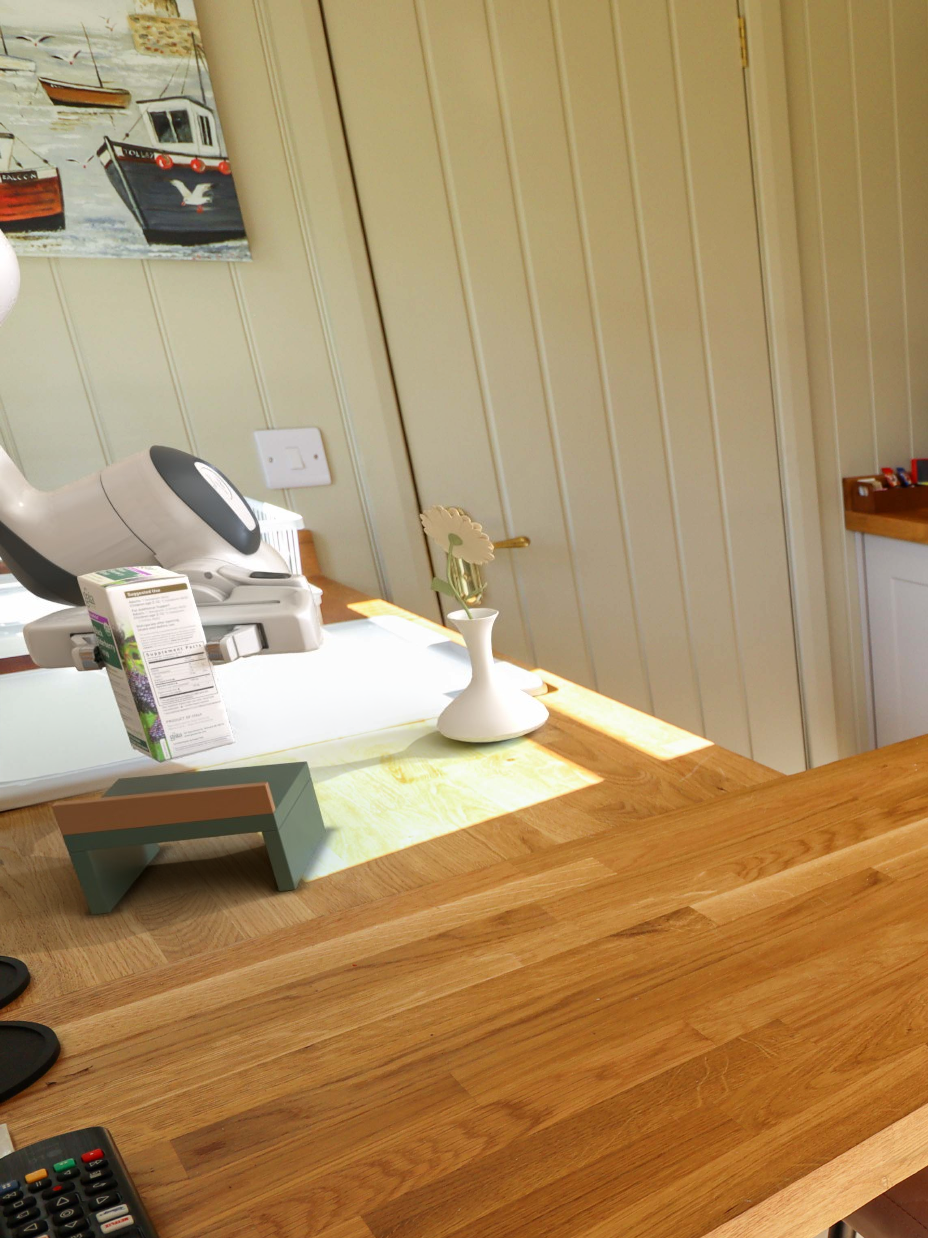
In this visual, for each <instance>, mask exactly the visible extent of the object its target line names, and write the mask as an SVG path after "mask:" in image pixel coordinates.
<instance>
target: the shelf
mask: <svg viewBox="0 0 928 1238" xmlns="http://www.w3.org/2000/svg"><path fill="white" fill-rule="evenodd" d="M50 807H51V809H52V813H53V816H54V819H55V820H56V823H57V826H58V829H59V831H60V834H61V836H62V840H63V842H64V845H65V847H66V849H67V852H68V855H69V858H70V861H71V865H72V866H73V869H74V871H75V872H74V873H75V874H76V877H77V880H78V882H79V884H80V887H81V890H82V893H83V895H84V898H85V902H86V903H87V907H88V909H89V912H90V914H91V915H92V916H95V915H102V914H110V913H111V912H112V910H113V909H114V908H115V906H117V904H118V903H119V902H120V901H121V899H122V898H123V897H124V895H125V894H126V893H127V892H128V891H129V889H130V888H131V887H132V885H133V884H134V883H135V881H136V880H138V878H139V877H140V876H141V875H142V873H143V872H144V870H145V869H146V868H147V867H148V865H149V864H150V863H151V862H152V860H153V859H154V858H155V857H156V855H157V854H158V853H159V852H160V846H159V844H161V843H171V842H181V841H188V840H189V841H190V840H199V839H208V838H217V837H227V836H235V835H245V834H254V833H261V834H262V838H263V841H264V845H265V847H266V851H267V855H268V858H269V862H270V866H271V869H272V873H273V876H274V878H275V882H276V885H277V889H278V891H279V892H288V891H295V890H296V889H297V887H298V885H299V883H300V881H302V880H301V879H302V878H303V876H304V874H305V872H306V870H307V869H308V866H309V864H310V862H311V861H312V859H313V856H314V855H315V852H316V851H317V849H318V847H319V845H320V843H321V842H322V839H323V837H324V835H325V834H326V827H325V823H324V820H323V815H322V813H321V808H320V805H319V800H318V796H317V793H316V789H315V787H314V782H313V779H312V775H311V770H310V768H309V763H308V761H304V760H303V761H295V762H286V763H283V762H282V763H273V764H263V765H251V766H241V767H231V768H230V767H229V768H220V769H219V768H218V769H209V770H197V771H186V772H178V773H177V772H176V773H165V774H155V775H154V774H153V775H144V776H135V777H134V776H132V777H123V778H121V777H120V778H118V779H117V780H116V781H115V782H114V783H113V784H112V785H111V786H110V787H109V788H108V789H107V790H106V791H105V792H104V793H103V794H102V795H101V796H100V797H95V798H84V799H75V800H64V801H55V802H54V803H53V804H52V805H50Z"/></svg>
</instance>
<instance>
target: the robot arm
mask: <svg viewBox="0 0 928 1238" xmlns="http://www.w3.org/2000/svg"><path fill="white" fill-rule="evenodd" d="M20 288H21V268H20V263H19V259H18V257H17V253H16V251H15V249H14V247H13V245H12V244H11V242H10V240H8V238H7V237H6V235H5V233H4V232H3V231H2V229H1V228H0V328H1V327H2V326H3V325H4V323H5V322H6V321H7V319H8V317H9V316H10V314H11V313H12V311H13V309H14V307H15V305H16V303H17V300H18V298H19V294H20V293H19V292H20V290H21V289H20ZM260 526H261V525H260V522H259V520H258V518H257V516H256V514H255V512H254V511H253V509H252V508H251V506H250V504H249V503H248V501H247V499H246V498H245V497H244V496H243V494H242V492H240V491H239V489H238V488H237V487H236V485H234V483H233V482H232V481H231V480H230V479H229V478H228V476H226V474H224V473H223V472H222V471H221V470H220V469H219V468H217V467H216V466H214V465H213V464H211V463H210V462H208V461H206V460H204V459H202V458H200V457H198V456H196V455H193V454H190V453H188V452H186V451H183V450H181V449H177V448H175V447H171V446H165V445H155V444H153V445H152V446H150V447H148V448H145V449H143V450H140V451H138V452H136V453H134V454H131V455H129V456H126V457H124V458H122V459H119V460H117V461H115V462H113V463H111V464H107V465H106V466H104V467H102V468H101V469H99V470H97V471H95V472H93V473H90V474H88V475H86V476H84V477H81V478H79V479H76V480H75V481H72V482H71V483H68V484H66V485H63V486H61V487H59V488H57V489H54V490H51V491H45V490H40V489H37V488H36V487H34V486H33V485H31V483H29V481H28V480H27V479H26V477H25V476H24V475H23V473H22V472H21V471H20V469H19V468H18V467H17V465H16V464H15V462H14V461H13V459H12V458H11V457H10V456H9V454H8V453H7V451H6V450H5V449H4V448H3V446H2V445H1V444H0V559H1V561H2V562H3V564H4V565H5V567H6V568H7V569H8V571H9V572H10V573H11V575H12V576H13V578H15V579H16V581H18V583H19V584H20V585H21V586H22V587H24V588H25V589H26V590H27V591H28V592H29V593H31V594H33V595H34V596H35V597H37V598H39V599H42V600H45V601H49V602H51V603H54V604H55V603H56V604H58V605H63V606H68V608H63V609H60V610H57V611H54V612H51V613H49V614H47V615H43V616H41V617H39V618H37V619H35V620H32V621H31V622H28V623H27V624H25V625H24V626H23V628H22V635H23V639H24V643H25V647H26V649H27V651H28V654H29V656H30V658H31V661H32V662H33V663H34V664H35V665H36V666H37V667H40V668H42V669H45V670H52V669H67V668H75V669H76V671H77V672H92V671H101V670H103V669H104V668H105V664H104V661H103V658H102V655H101V652H100V649H99V646H98V642H97V639H96V636H95V633H94V630H93V627H92V623H91V620H90V617H89V614H88V610H87V607H86V604H85V601H84V598H83V595H82V592H81V589H80V586H79V583H78V580H77V577H78V576H82V575H85V574H89V573H93V572H98V571H103V570H109V569H116V568H125V567H139V566H158V567H161V568H163V569H166V570H169V571H172V572H175V573H177V574H180V575H181V574H184V575H187V577H188V580H189V584H190V587H191V591H192V594H193V597H194V601H195V604H196V608H197V611H198V614H199V618H200V621H201V625H202V628H203V631H204V635H205V639H206V642H207V643H206V649H207V651H208V652H209V653H210V654H209V659H210V662H212V663H213V666H222V665H227V664H230V663H233V662H235V661H237V660H239V659H241V658H243V659H246V658H251V657H254V656H269V655H270V656H271V655H286V654H304V653H311V652H314V651H317V650H319V649H320V648H321V647H322V646H323V644H324V635H323V631H322V627H321V622H320V618H319V613H318V608H317V604H316V601H315V598H314V594H313V591H312V589H311V587H310V584H309V581H308V579H307V577H306V575H304V574H299V573H291V570H290V568H289V566H288V564H287V562H286V560H285V559H284V558H283V557H282V555H281V554H280V552H278V551H277V549H275V548H274V547H273V546H272V545H271V544H269V543H268V542H266V541H265V540H263V539H262V535H261V534H262V533H261V527H260Z"/></svg>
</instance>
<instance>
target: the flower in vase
mask: <svg viewBox="0 0 928 1238" xmlns="http://www.w3.org/2000/svg"><path fill="white" fill-rule="evenodd" d="M419 518H420V519H421V525H422V526H423V527H424V528H423V531H424V533H425V534H426V535H427V536H429V537H430V538H432V540H433V542H434V543H435V545H437V546H441V549H442V550H443V551H444V552H445V553H447V561H446V572H445V573H446V579H447V581H445V580H443V579H441V578H439V577H437V576H434V577H433V579H432V583H431V585H430V588H429V589H430V590H431V591H435V592H439V593H442V594H443V595H446V596H448V597H451V598H453V597H456V599H457V600H458V602H459V604H460V605H461V606H462V608H463V609H460V610H455V611H452V612H449V613H448V614H447V615H446V618H447V619H448V620H449V621H450V622H451V623H452V624H453V625H454V626H455V627H456V628H457V630H458V631H459V633H460V634H461V636H462V639H463V641H464V643H465V646H466V649H467V652H468V656H469V660H470V666H471V679H470V682H469V684H468V685H466V688H464V690H462V691H461V692H460V693H459V695H457V696H456V697H455V698H454V699H453V700H452V701H451V702H450V703H449V704H447V706H446V707H445V708H444V709H443V710H442V712H441V713H440V715H439V716H438V718H437V721H436V730H438V732H440V734H441V735H442V736H444V737H445V738H447V739H451V740H455V741H459V742H466V743H493V742H500V741H501V742H502V741H505V740H512V739H515V738H519V737H523V736H524V735H526V734H529V733H532V732H534V731H536V730H538V729H539V728H541V727H542V726H543V725H544V724H546V721H547V720H548V718H549V711H548V709H547V708H546V706H545V704H543V703H542V702H540V701H539V700H538V699H537V698H535V697H533V696H531V695H530V694H528V693H526V692H525V691H522V690H520V689H519V688H516V687H515V686H513V685H511V684H509V683H508V682H506V681H505V680H504V679H502V678H501V676H500V675H499V674H498V671H497V669H496V666H495V662H494V657H493V651H492V650H493V649H492V630H493V626H494V622H495V620H496V618H497V617H498V615H499V610H496V609H495V608H488V607H477V608H475V607H474V608H468V606H467V605H466V602H465V601H467V600H470V599H471V598H473V597H475V596H476V595H478V594H479V593H480V592H481V591H482V590H483V589H485V588H486V587H487V586H488V582H487V581H486V582H484V584H483V586H482V587H480V588H476V589H475V590H473V591H471V592H470V593H468V594H467V595H466V596H465V598H463V599H462V597H461V595H460V594H459V593H458V591H457V589H456V588H455V586H454V584H453V582H452V579H451V564H452V557H454V558H455V559H458V560H460V559H462V560H464V562H466V563H468V564H471V565H472V564H475V565H478V566H483V564H489V563H490V561H494V560H495V559H496V558H495V556H494V554H493V552H494V550H495V547H494V545H493V544H492V542H491V541H490V536H489V535H488V534H486V533H484V532H482V530H483V526H482V525H481V524H480V523H478V522H471V518H470V517H469V516H467V515H466V514H465V515H460V513H459V511H458V510H457V509H456V507H449V509H448V510H446V509H445V508H444V507H443V506H442V505H440V504H435V505H433V504H432V505H430V509H423V510H422V513H419Z"/></svg>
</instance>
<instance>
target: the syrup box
mask: <svg viewBox="0 0 928 1238" xmlns="http://www.w3.org/2000/svg"><path fill="white" fill-rule="evenodd" d="M77 580H78V583H79V586H80V589H81V592H82V595H83V598H84V601H85V604H86V607H87V610H88V614H89V617H90V620H91V623H92V627H93V630H94V633H95V636H96V639H97V642H98V646H99V649H100V652H101V655H102V658H103V661H104V664H105V667H104V668H105V671H106V675H107V677H108V680H109V684H110V686H111V687H110V688H111V690H112V692H113V695H114V699H115V701H116V706H117V708H118V711H119V713H120V714H119V715H120V717H121V721H122V722H123V725H124V728H125V731H126V734H127V737H128V740H129V743H130V746H131V747H132V749H133V750H134V751H138V752H139V753H141V754H143V755H145V756H147V757H148V758H151V759H153V760H154V761H156V762H158V763H159V764H161V763H162V764H163V763H166V762H170V761H174V760H178V759H182V758H185V757H189V756H193V755H197V754H200V753H205V752H208V751H211V750H215V749H219V748H222V747H226V746H230V745H233V744H235V743H236V740H235V736H234V733H233V730H232V726H231V721H230V718H229V715H228V712H227V707H226V704H225V701H224V698H223V693H222V690H221V687H220V684H219V680H218V678H217V674H216V673H217V672H216V670H215V667H214V666H213V663H212V662H210V659H209V654H210V653H209V652H208V651H207V649H206V643H207V642H206V639H205V635H204V631H203V628H202V625H201V621H200V618H199V614H198V611H197V608H196V604H195V601H194V597H193V594H192V591H191V587H190V584H189V580H188V577H187V575H184V574H181V575H180V574H177V573H175V572H172V571H169V570H166V569H163V568H161V567H158V566H139V567H125V568H116V569H109V570H103V571H98V572H93V573H89V574H85V575H82V576H78V577H77Z"/></svg>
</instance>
